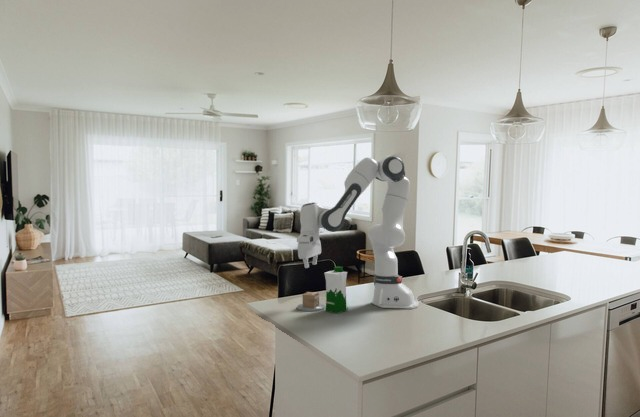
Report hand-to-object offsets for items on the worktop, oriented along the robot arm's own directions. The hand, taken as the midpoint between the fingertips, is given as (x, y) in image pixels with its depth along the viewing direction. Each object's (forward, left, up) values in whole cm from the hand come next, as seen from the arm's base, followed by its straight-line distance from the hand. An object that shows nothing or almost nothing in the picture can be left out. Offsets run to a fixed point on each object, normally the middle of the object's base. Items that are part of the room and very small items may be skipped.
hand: (310, 266), depth 199 cm
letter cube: (0, 0, -19) cm, 19 cm away
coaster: (0, 0, -20) cm, 20 cm away
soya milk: (-13, +1, -20) cm, 24 cm away
